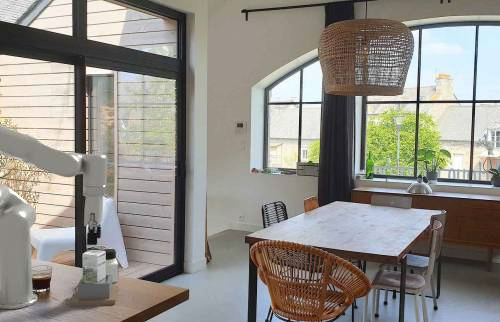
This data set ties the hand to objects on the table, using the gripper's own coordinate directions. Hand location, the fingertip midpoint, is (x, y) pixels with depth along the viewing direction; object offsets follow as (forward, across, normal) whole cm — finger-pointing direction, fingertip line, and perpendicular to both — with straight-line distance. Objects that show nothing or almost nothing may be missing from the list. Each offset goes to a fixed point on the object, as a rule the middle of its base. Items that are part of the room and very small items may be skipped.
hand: (94, 241), depth 167 cm
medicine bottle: (+20, -19, +3) cm, 28 cm away
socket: (+20, 0, +1) cm, 20 cm away
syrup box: (+18, 0, 0) cm, 18 cm away
